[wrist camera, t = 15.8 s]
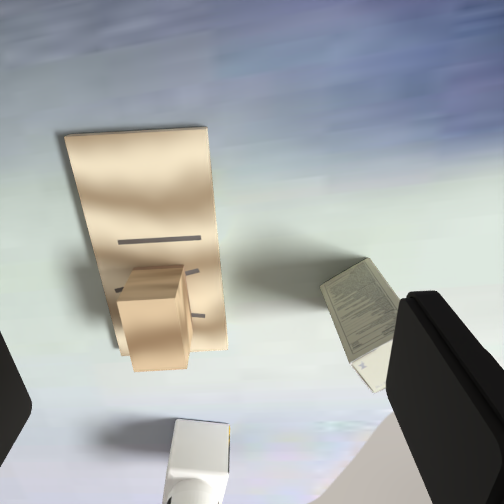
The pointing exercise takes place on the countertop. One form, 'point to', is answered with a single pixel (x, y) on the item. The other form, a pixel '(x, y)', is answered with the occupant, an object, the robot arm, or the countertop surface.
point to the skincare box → (364, 319)
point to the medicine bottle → (197, 463)
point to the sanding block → (157, 318)
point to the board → (153, 217)
